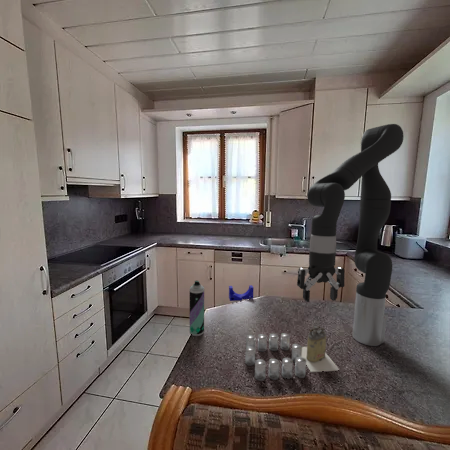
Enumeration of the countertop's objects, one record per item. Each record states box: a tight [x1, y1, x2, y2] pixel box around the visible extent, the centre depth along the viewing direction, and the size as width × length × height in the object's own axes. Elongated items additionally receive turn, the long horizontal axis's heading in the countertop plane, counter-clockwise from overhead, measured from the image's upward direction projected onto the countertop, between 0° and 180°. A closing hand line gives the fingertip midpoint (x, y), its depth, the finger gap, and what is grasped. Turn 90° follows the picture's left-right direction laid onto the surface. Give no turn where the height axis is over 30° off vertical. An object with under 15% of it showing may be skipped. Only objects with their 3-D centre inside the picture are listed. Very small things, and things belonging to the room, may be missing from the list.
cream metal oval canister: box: [306, 325, 327, 362], centre depth 81 cm, size 7×4×10 cm, turn 122°
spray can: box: [189, 280, 205, 337], centre depth 95 cm, size 6×6×20 cm
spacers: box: [244, 332, 307, 382], centre depth 79 cm, size 18×16×4 cm
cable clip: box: [228, 285, 254, 302], centre depth 127 cm, size 12×4×6 cm, turn 96°
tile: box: [301, 346, 340, 373], centre depth 81 cm, size 9×12×1 cm
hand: (319, 300), depth 79 cm, fingers open, 8 cm apart
